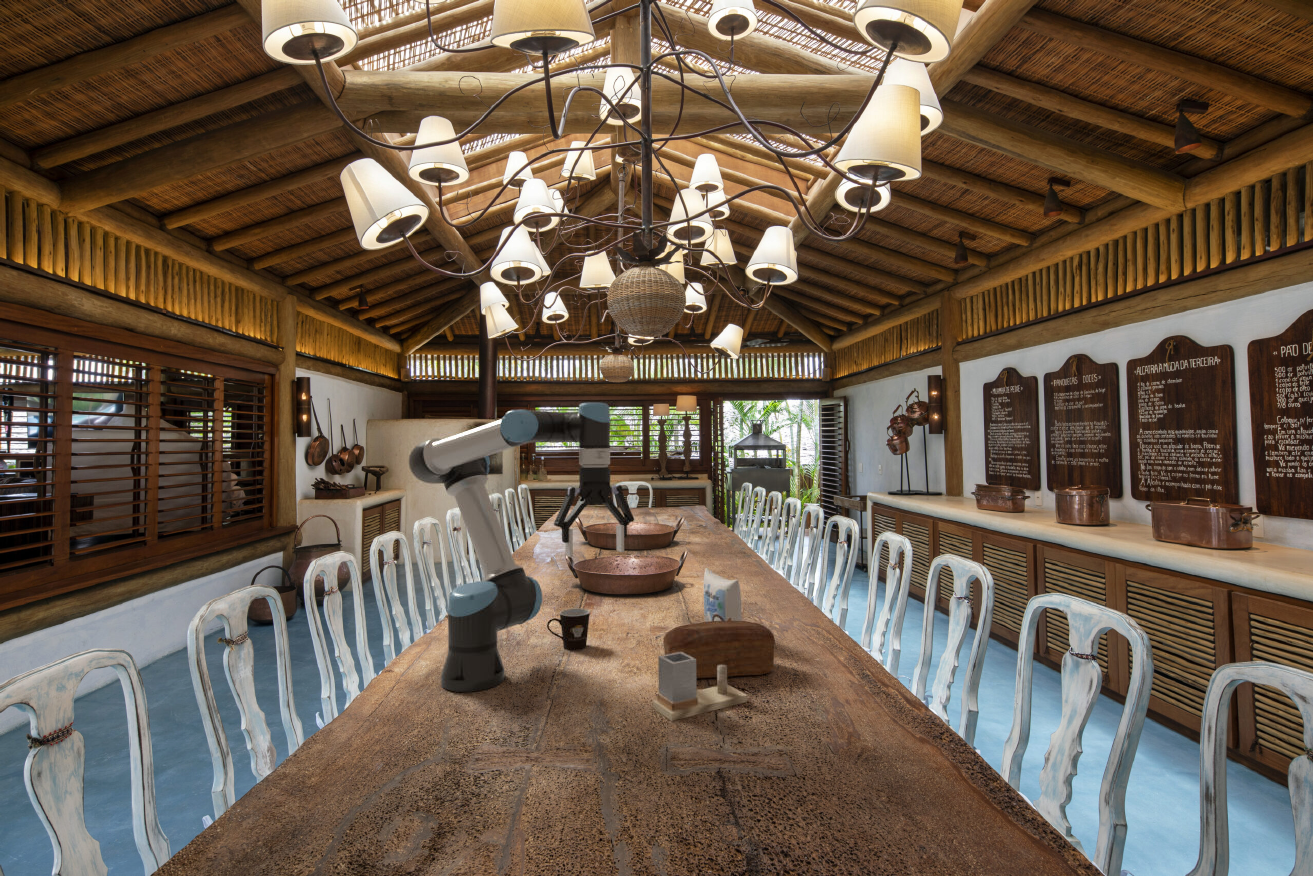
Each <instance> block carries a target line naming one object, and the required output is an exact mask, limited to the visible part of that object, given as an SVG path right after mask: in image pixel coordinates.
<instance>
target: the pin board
mask: <svg viewBox="0 0 1313 876" xmlns="http://www.w3.org/2000/svg"><path fill="white" fill-rule="evenodd" d="M716 679H717V685H715V686H711V687H707V688H703V689H698V690H696V695H697V698H698V705H697V706H692V707H688V708H684V709H680V710H676V711H672V710H670V709H669V708H667V707H666V706H664V705H663V704H661V703H660V702H659V701H658V699H655V700H652V709H653V710H655V711H657V712H658V713H659V714H661V715H662V716H663V717H665V718H667V719H668V720H669V721H671V722H672V721H673V722H674V721H677V720H681V719H685V718H688V717H692V716H693V717H694V716H697V715H700V714H704V713H708V712H709V713H710V712H713V711H716V710H719V709H720V710H721V709H724V708H728V707H731V706H736V705H739V704H740V705H741V704H743V703H747V702H748V694H746V693H744V692H742V691H740V690H738V689H737V688H735V687H732V686H731V685H729V684H728V677H727V666H726V665H718V666H717V677H716Z"/></svg>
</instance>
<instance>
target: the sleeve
mask: <svg viewBox="0 0 1313 876" xmlns="http://www.w3.org/2000/svg"><path fill="white" fill-rule="evenodd" d="M696 691H697V679H696V659H695V658H693V657H691V656H689V655H687V654H685V653H683V652H678V653H672V654H667V655H665V654H663V655H659V656H658V693H657V700H658V701H659V702H660V703H661V704H663V705H664V706H666V707H667V708H669V709H670V710H672V711H676V710H680V709H684V708H688V707H692V706H697V705H698V698H697V695H696Z"/></svg>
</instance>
